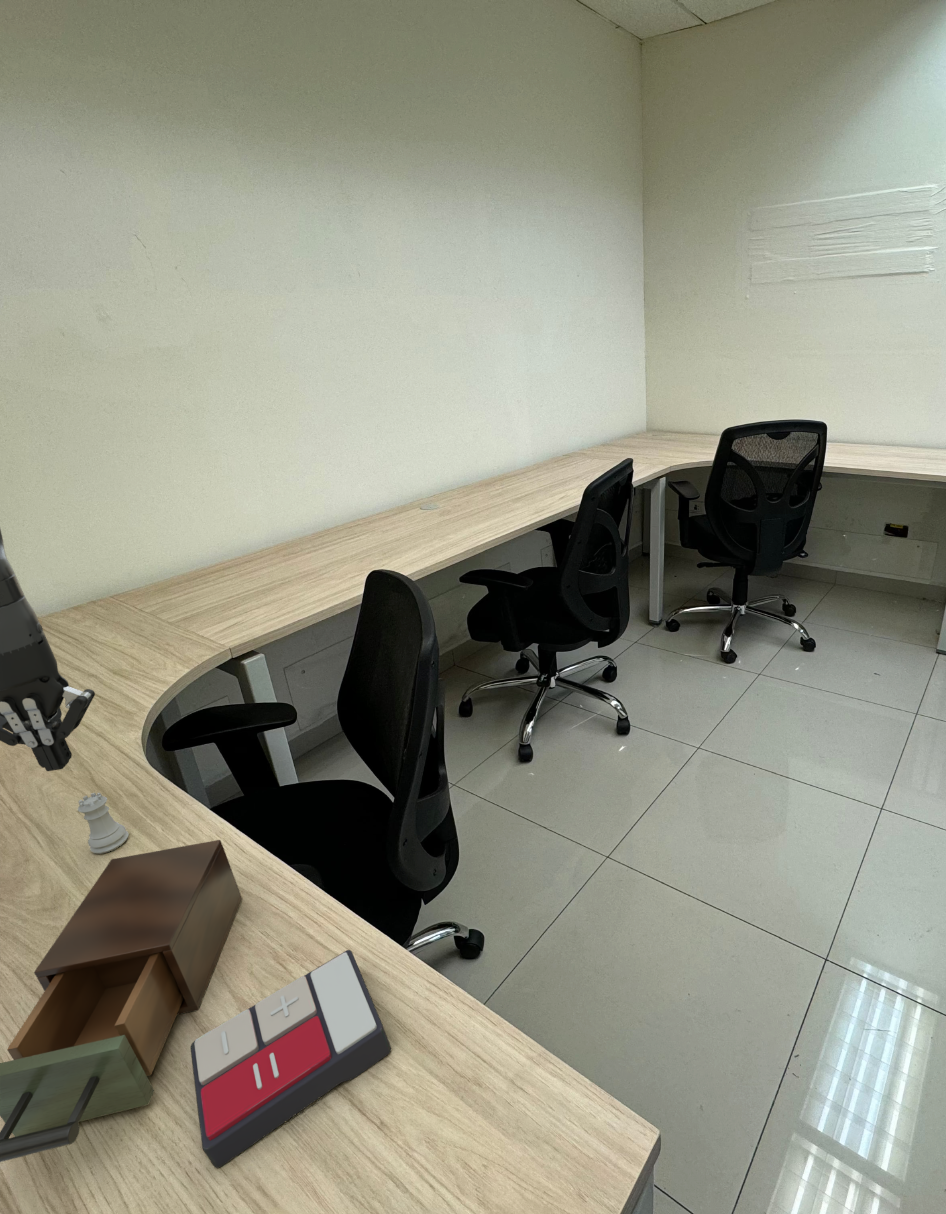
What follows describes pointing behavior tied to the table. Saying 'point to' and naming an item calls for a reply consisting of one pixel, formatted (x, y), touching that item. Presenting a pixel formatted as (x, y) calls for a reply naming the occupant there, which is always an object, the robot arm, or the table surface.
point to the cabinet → (154, 917)
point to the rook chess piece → (101, 825)
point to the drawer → (85, 1051)
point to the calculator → (284, 1056)
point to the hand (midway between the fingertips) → (59, 766)
